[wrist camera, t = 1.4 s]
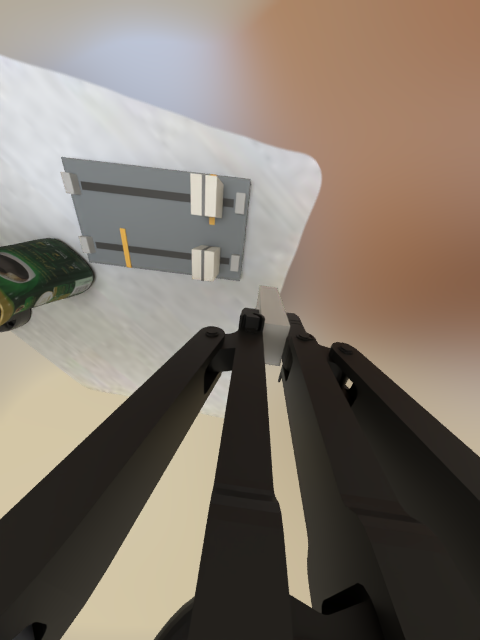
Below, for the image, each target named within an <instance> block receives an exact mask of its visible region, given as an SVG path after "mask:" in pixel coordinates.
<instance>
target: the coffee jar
mask: <svg viewBox="0 0 480 640" xmlns="http://www.w3.org/2000/svg"><path fill="white" fill-rule="evenodd" d="M92 281H93V272H92V270H91V268H90V267H89V266H88V265H87V264H86V263H85V262H84V260H82V259H81V258H80V257H79V256H78V255H77V254H76V253H75V252H74V251H72V250H71V249H70V248H69V247H67V246H66V245H65V244H63V243H62V242H60V241H58V240H55V239H51V238H47V239H39V240H33V241H28V242H23V243H19V244H14V245H9V246H3V247H0V326H1V325H3V324H4V323H5V322H7V321H8V320H9V319H10V318H11V317H12V316H13V315H15V314H17V313H20V312H22V311H25V310H28V309H30V308H34V307H37V306H40V305H43V304H46V303H50V302H53V301H57V300H61V299H64V298H68V297H71V296H74V295H77V294H80V293H82V292H84V291H85V290H87V289H88V288H89V287H90V285H91V283H92Z"/></svg>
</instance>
